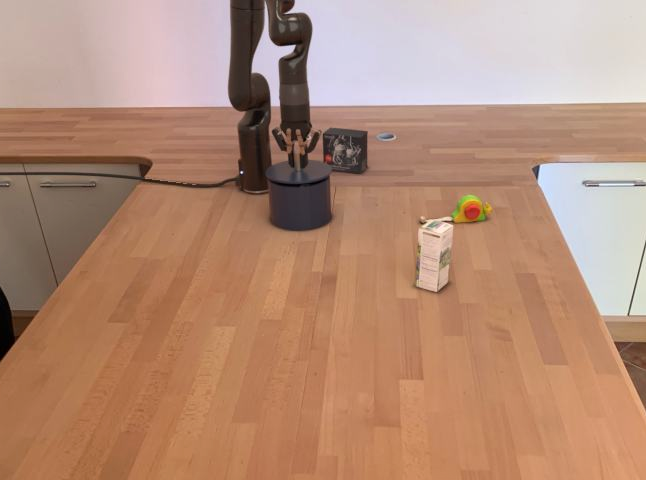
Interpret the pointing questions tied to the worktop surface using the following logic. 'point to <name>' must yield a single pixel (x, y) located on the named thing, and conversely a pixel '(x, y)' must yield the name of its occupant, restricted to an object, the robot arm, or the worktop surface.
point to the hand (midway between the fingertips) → (298, 166)
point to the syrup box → (433, 255)
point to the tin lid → (298, 171)
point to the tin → (300, 204)
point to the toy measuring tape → (466, 211)
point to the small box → (345, 149)
